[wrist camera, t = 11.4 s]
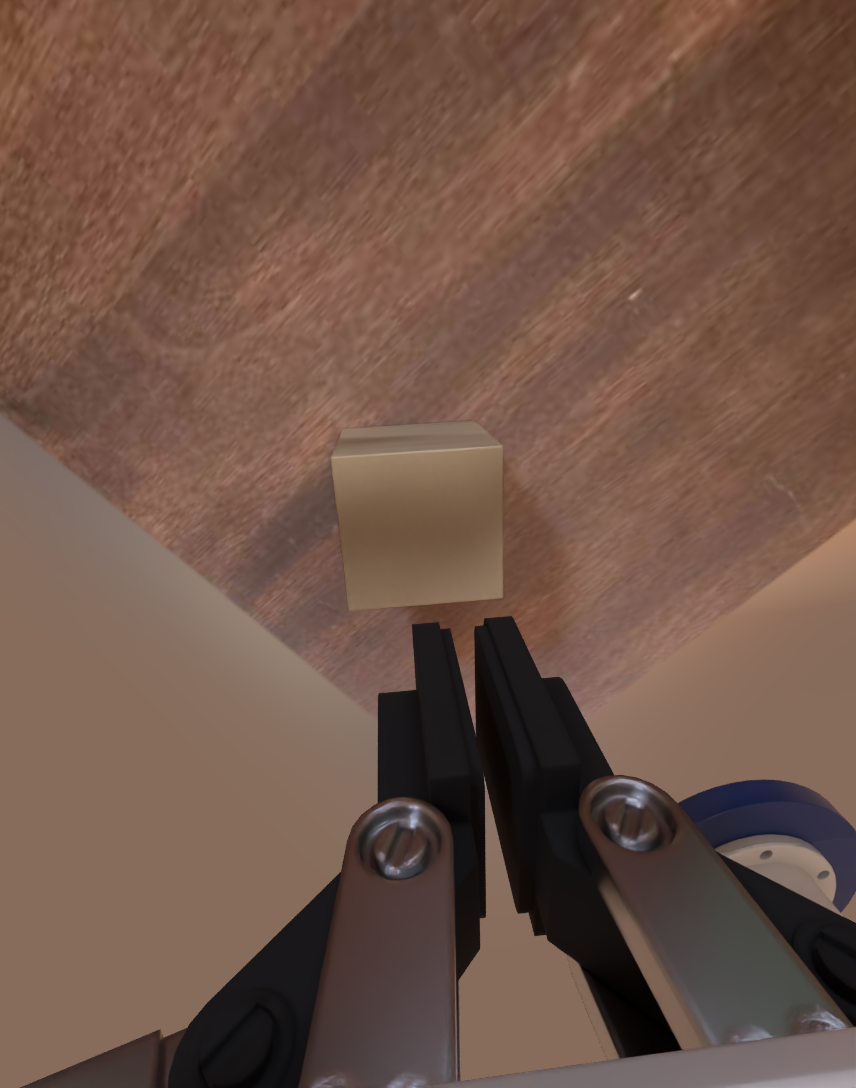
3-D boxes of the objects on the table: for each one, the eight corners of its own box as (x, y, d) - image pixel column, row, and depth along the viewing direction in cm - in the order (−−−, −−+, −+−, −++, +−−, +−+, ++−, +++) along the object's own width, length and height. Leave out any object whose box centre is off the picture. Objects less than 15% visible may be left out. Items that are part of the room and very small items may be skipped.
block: (477, 542, 26) (503, 599, 21) (355, 552, 26) (348, 612, 20) (475, 420, 24) (503, 445, 18) (341, 428, 24) (329, 457, 18)
